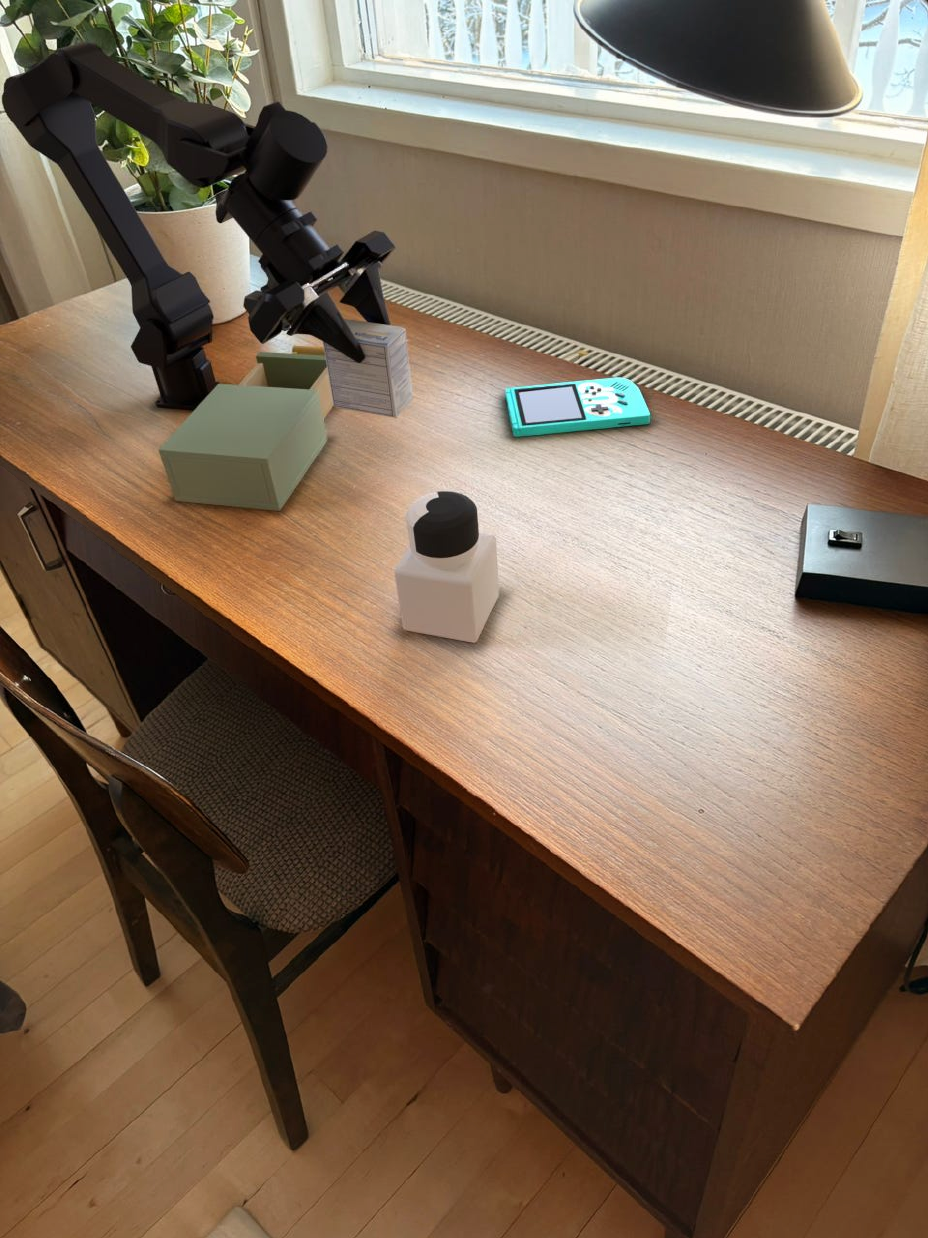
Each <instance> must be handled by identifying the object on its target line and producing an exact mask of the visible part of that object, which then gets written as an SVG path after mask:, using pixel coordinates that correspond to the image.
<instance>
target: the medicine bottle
mask: <svg viewBox="0 0 928 1238" xmlns="http://www.w3.org/2000/svg"><path fill="white" fill-rule="evenodd" d="M405 519H406V528H407V535H408V542H409V546H408V547H407V549H406V551H405V552H404V554H403V556H401V559H400V560H399V562H398V564H397V565H396V566H395V568H394V578H395V579H394V580H395V586H396V592H397V598H398V606H399V611H400V617H401V623H402V625H401V626H402V629H403V630H404V631H406V632H407V631H408V632H412V633H418V634H423V635H428V636H434V637H440V638H446V639H451V640H454V641H455V640H456V641H461V642H468V643H473V644H476V643H477V642H478V640H479V638H480V636H481V634H482V632H483V629H484V628H485V626H486V624H487V622H488V619H489V617H490V615H491V612H492V611H493V609H494V607H495V605H496V602H497V600H498V599H499V596H500V581H499V564H498V550H497V548H498V547H497V536H495V534H492V533H485V532H480V530H479V528H480V527H479V515H478V507H477V505H476V503H475V502H474V501H473V500H472V499H471V498H469V497H468V496H467V495H464V494H463V493H460V492H456V491H451V490H441V491H433V492H429V493H426V494H424V495H422V496H419V497H418V498H417V499H415V500H414V501H413V502H412V503H411V504H410V505H409V507H408V508H407V510H406V513H405Z"/></svg>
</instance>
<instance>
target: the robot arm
mask: <svg viewBox="0 0 928 1238" xmlns="http://www.w3.org/2000/svg"><path fill="white" fill-rule="evenodd" d="M1 104H2V108H3V110H4V112H5V114H6V116H7V117H8V119H9V121H10V122H11V123H12V124H13V125H14V127H16V129H17V130H18V132H19V133H20V135H21V136H22V137H23V139H24V140H25V141H26V143H27V144H28V145H29V146H30V147H31V148H33V149H34V150H35V151H36V152H38V153H40V154H41V155H43V156H45V158H47V159H49V160H50V161H52V162H53V163H54V164H56V166H58V167H59V169H60V170H61V172H62V174H63V175H64V177H65V179H66V180H67V182H68V183H69V186H70V187H71V188H72V190H73V192H74V194H75V195H76V196H77V199H78V200H79V201H80V203H81V205H82V207H83V208H84V210H85V212H86V213H87V215H88V216H89V218H90V219H91V222H92V223H93V226H94V227H95V228H96V230H97V231H98V233H99V234H100V236H101V238H102V239H103V241H104V242H105V244H106V246H107V248H108V249H109V252H110V253H111V254H112V256H113V258H114V259H115V261H116V262H117V264H118V266H119V268H120V269H121V271H122V272H123V274H124V276H125V277H126V279H127V280H128V282H129V285H130V288H131V308H132V309H131V310H132V314H133V317H134V318H135V320H136V323H137V324H138V326H139V330H138V331H137V334H136V336H135V337H134V339H133V341H132V343H131V345H130V349H131V351H132V352H133V354H134V356H135V358H136V360H137V361H138V363H140V364H143V365H146V366H149V367H151V370H152V374H153V377H154V379H155V383H156V385H157V389H158V392H159V395H160V396H159V398H157V399H156V400H155V401H154V404H155V406H156V407H157V408H171V409H172V408H173V409H185V410H195V409H196V408H197V407H198V406H199V405H200V403H201V402H202V401H203V400H204V399H205V398H206V397H207V396H208V395H209V394H210V392H211V391H212V390H213V389H214V388H215V387H216V386H217V385H218V384H221V382H220V381H216V378H215V374H214V370H213V367H212V362H211V360H210V359H207V355H206V352H205V348H204V346H205V345H207V344H211V343H212V342H213V323H214V322H213V321H214V319H215V316H214V312H213V309H212V307H211V305H210V303H211V300H210V299H209V297H207V296H206V294H205V292H203V290H202V288H201V285H200V284H199V281H198V279H197V277H196V276H195V275H194V274H193V273H192V272H190V271H187V272H185V273H181V272H180V271H178V270H177V269H175V268H173V267H172V266H170V265H169V263H168V262H167V261H166V259H165V258H164V256H163V254H162V252H161V250H160V249H159V247H158V245H157V244H156V242H155V240H154V239H153V237H152V235H151V234H150V232H149V230H148V228H147V226H146V225H145V224H144V222H143V220H142V219H141V216H140V215H139V213H138V211H137V210H136V208H135V206H134V204H133V203H132V201H131V200H130V198H129V196H128V194H127V192H126V191H125V189H124V188H123V186H122V184H121V182H120V181H119V179H118V178H117V176H116V174H115V173H114V170H113V169H112V167H111V165H110V164H109V161H108V160H107V158H106V157H105V155H104V154H103V151H102V150H101V149H100V147H99V145H98V142H97V125H96V112H95V111H94V109H93V106H95V107H97V108H99V109H100V110H102V111H103V112H105V113H106V114H108V115H110V116H111V117H113V118H115V119H116V120H118V121H119V122H121V123H123V124H124V125H126V126H127V127H129V128H131V129H132V130H134V131H135V132H137V133H139V134H140V135H141V136H143V137H145V138H147V139H148V140H150V141H152V142H153V143H154V144H156V146H158V147H159V148H160V150H161V152H162V155H163V157H164V159H165V162H166V164H167V165H168V166H169V167H170V168H171V169H173V170H174V171H175V172H177V173H178V174H179V175H180V176H181V177H182V178H184V179H185V180H186V181H187V182H188V183H190V184H191V185H192V186H194V187H196V188H199V189H205V188H209V187H212V186H213V185H216V184H218V183H220V182H222V181H225V180H227V179H230V178H232V177H233V179H232V180H231V182H229V185H228V187H227V189H224V190H221V191H220V192H217V193H216V194H214V199H215V204H216V206H215V219H216V222H217V223H218V224H223V223H225V222H228V221H230V220H231V219H233V220H234V221H235V223H236V224H237V225H238V226H239V228H241V229H242V231H243V232H244V233H245V235H246V236H247V237H248V238H249V239H250V241H251V242H252V243H253V244H254V245H255V247H256V248H257V249H258V250H259V252H260V253H261V256H260V257H259V259H258V261H257V262H258V263H259V264H260V268H261V271H263V272H264V273H265V276H266V277H267V281H266V284H264V285H263V286H261V287H260V290H254V291H252V292H250V293H249V294H247V295H245V296H244V298H243V305H242V307H243V309H244V310H245V311H246V312H247V314H248V317H247V320H248V325H249V330H250V332H251V333H252V334H253V336H254V337H255V338H256V339H257V340H258V342H259V343H260V344H261V345H264V344H266V343H268V342H269V341H271V340H272V339H275V338H276V337H277V336H279V335H280V334H281V333H282V332H286V333H285V334H286V336H289V337H292V336H294V335H307V336H311V337H313V338H316V339H317V340H320V341H322V343H323V342H325V343H327V344H328V345H330V346H331V347H333V348H335V349H336V350H338V351H339V352H341V353H343V354H344V355H346V356H347V357H349V358H351V359H352V360H354V361H355V362H357V363H361V362H362V361H363V360H364V359H365V355H364V353H363V351H362V349H361V347H360V345H359V343H358V341H357V340H356V338H355V336H354V335H353V333H352V332H351V330H350V328H349V327H348V325H347V323H346V322H345V320H344V319H345V318H344V317H343V316H342V314H341V312H340V311H339V308H338V306H336V304H335V301H334V300H333V298H332V297H331V296H330V294H329V293H328V292H330V291H332V290H334V289H335V288H336V287H338V289H340V291H341V292H342V293H343V296H342V297H341V298H340V300H339V302H338V303H340V304H343V305H345V306H346V305H347V306H348V307H349V306H350V307H352V308H354V309H355V310H356V311H357V312H358V313H359V314H360V316H361V317H362V318H363V319H364V320H365V322H370V323H377V324H384V325H391V326H392V324H391V320H390V316H389V313H388V308H387V304H386V302H385V296H384V291H383V286H382V281H381V275H380V269H381V268H382V267H383V264H384V263H385V261H386V260H387V259H388V258H389V257H390V255H391V254H392V253H393V252H394V250H395V249H396V245H395V244H394V243H393V242H392V240H391V239H390V237H389V236H388V234H386V232H384V231H379V230H373V231H371V232H369V233H367V234H366V235H364V236H362V237H361V238H358V239H356V240H355V241H354V243H353V244H352V245H351V246H350V248H349V249H348V250H347V252H346V253H345V251H344V250H343V249H342V248H341V247H340V245H339V244H338V243H337V244H336V245H334V246H332V247H329V245H328V244H327V243H326V241H325V240H324V239H323V238H322V236H321V235H320V234H319V233H318V231H317V230H316V229H315V228H314V226H315V224H316V223H317V221H318V218H317V217H316V215H315V214H314V213H313V212H312V211H309V212H307V213H304V214H303V213H302V211H301V210H300V208H298V207H297V206H296V204H295V203H294V201H295V200H297V199H298V198H299V197H300V196H301V195H302V194H303V193H304V191H305V189H306V188H307V186H308V185H309V184H310V181H311V180H312V178H313V177H314V175H315V174H316V172H317V171H318V169H319V167H320V166H321V165H322V163H323V161H324V159H325V158H326V156H327V154H328V148H329V147H328V142H327V139H326V136H325V134H324V132H323V131H322V129H321V128H320V126H318V124H317V123H316V122H314V121H311V120H310V119H309V118H308V117H306V116H304V115H303V114H301V113H298V112H296V111H292V110H287V109H286V108H285V107H284V106H283V104H282V103H281V101H278V100H277V101H273V102H272V103H269V104H266V105H264V106H263V107H262V109H261V110H260V113H259V114H258V118H257V122H256V125H251V124H249V123H245V122H244V120H243V119H242V118H241V117H240V116H239V115H237V114H236V113H234V112H232V111H230V110H227V109H224V108H223V107H219V106H216V105H213V104H212V103H211V104H210V103H205V102H195V101H187V100H184V99H181V98H178V97H176V96H175V95H173V94H172V93H170V92H168V91H166V90H165V89H163V88H162V87H160V86H158V85H157V84H155V83H154V82H152V81H150V80H149V79H147V78H145V77H144V76H142V75H140V74H139V73H137V72H136V71H133V70H132V69H131V68H128V67H127V66H125V65H123V64H122V63H120V62H118V61H117V60H116V59H114V58H112V57H110V56H109V55H107V54H105V52H104V50H103V49H102V48H101V47H100V46H99V45H98V44H97V43H94V42H89V41H82V42H78V43H74V44H71V45H67V46H63V47H60V48H56V49H54V51H53V52H52V53H50V54H49V55H48V56H47V57H46V58H45V59H44V60H43V61H42V62H40V63H39V64H37V65H36V66H34V67H32V68H31V69H29V70H27V71H25V72H21V73H19V74H15V75H11V76H8V77H7V78H6V79H5V80H4V83H3V92H2V95H1ZM92 105H93V106H92ZM243 172H244V173H243ZM234 176H235V177H234ZM343 254H344V256H343ZM342 256H343V257H342ZM341 257H342V259H341ZM340 259H341V260H340Z"/></svg>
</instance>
